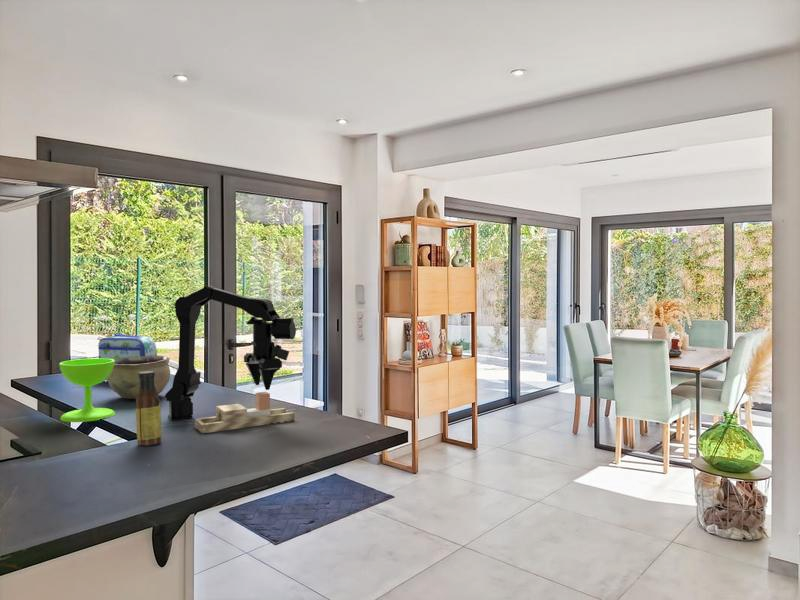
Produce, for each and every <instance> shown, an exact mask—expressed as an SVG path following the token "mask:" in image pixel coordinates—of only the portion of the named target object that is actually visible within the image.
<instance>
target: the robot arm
mask: <svg viewBox="0 0 800 600" xmlns="http://www.w3.org/2000/svg"><path fill="white" fill-rule="evenodd" d="M211 300H212V301H216V302H219V303H222V304H224V305H228V306H232V307H235V308H238V309H241V310H242V311H244V312H245V313H247V314H249V315H250V316H251V317H250V318H249V320H248V321H246V323H245V324H246V325H252V331H253V332H252V341H251V342H250V345H251V346H253V347H252V352H247V353H245V355H244V356H243V362H244V363H245V365H246V368H247V369H248V372H249V373H250V377H251V378H252V380H253V383H254V385H255V386H259V385H260V382H261V380H262V383H263V386H264V389H265V391H269V390H270V388H271V385H272V382H273V378H274V376H275V374H276V373H277V372H278V371H280V369H282V367H283V361H282V360H284V361H287V360H288V358H289V354H290V351H289V350H286V349H284V348H282V346H281V345H279V344H275V342H274V341H273V339H272V337H273V338H274V339H275V340H294V339H295V337H296V334H297V333H296V332H297V327H296V324H295V321H294V318H293V317H287V318H286V317H285V318H284V317H280V315H279V314H278V313H277V311H276V310H275V307H274V306H275V305H274V303H273V301H272V300H271V299H268V298H260V297H249V296H244V295H241V294H237V293H235V292H231V291H228V290H224V289H221V288H218V287H216V286H214V285H206V286H204V287H202V288H200V289H199V290H197V291H195V292H191V293H189V294H188V295H186V296H185V295H184V296H181V297H178V298H177V299H176V300H175V302H174V312H175V316H176V318H177V320H178V323H179V336H178V337H179V340H178V342H179V343H178V344H179V345H178V367H177V370H176V372H175V374H174V376H173V379H172V380H173V381H172V385H171V386H172V387H171V388H170V389H169V390H168V391H167V392H166V393H165V394H164V397H165V400H166V401H167V402H168V403H169V404H168V405H169V407H168V409H169V410H168V411H169V413H168V414H167V417H168V418H169V419H170V420H171V421H176V420H178V419H179V420H185V419H186V418H187V419H193V418H194V417H193V415H194V403H193V402H192V397H194V395H195V392H196V391H197V390H198V389H199V388H200V387H199V386H200V385H201V384H202V382H201V375H202V374H201V371H197V370H196V368H195V353H196V352H195V350H196V347H195V345H196V323H197V321H198V320H199V317H200V316H201V315H200V314H201V311H202V307H204V306H205V305H207V304H208V303H209V302H210V301H211Z"/></svg>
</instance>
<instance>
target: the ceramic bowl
mask: <svg viewBox="0 0 800 600" xmlns="http://www.w3.org/2000/svg"><path fill="white" fill-rule="evenodd" d="M170 359H171V357H170V356H167V357H166V358H165V356H164V355H159V354H157V355H150V356H139V357H123V358H117V359H114V360H115V363H114V367H113V370H112V372H111V374H110V375H109V376H108V382H107V383H108V386H109V387H110V388H111V389H112V391H113V392H114V393H116V395H117V394H118V395H119V397H121V398H124V399H126V400H127V399H128V400H136V396H137V394H138V392H139V390H140V387H139V386H140V379H139V372H144V371H154V372H155V377H154V385H155V388H156V391H157V394H158V395H160V394H161V393H162V392H163V391H164V389H165V388H166V387H167V385H168V384H169V382H170V379H171V369H170V365H169V363H170Z"/></svg>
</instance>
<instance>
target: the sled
mask: <svg viewBox="0 0 800 600" xmlns="http://www.w3.org/2000/svg"><path fill="white" fill-rule="evenodd" d="M254 394H255V398H254V399H255V402H254V403H255V407H253V408H247V418H252V417H259V416H267V415H270V410H271V394H270V393H269V392H267V391H260V392H255V393H254ZM221 421H223V414H221Z"/></svg>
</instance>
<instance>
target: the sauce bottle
mask: <svg viewBox="0 0 800 600" xmlns="http://www.w3.org/2000/svg"><path fill="white" fill-rule="evenodd" d="M154 377H155V372H154V371H144V372H139V379H140V386H139V387H140V390H139V392H138V394H137V396H136V399H135V419H136V440H137V445H139V446H142V447H148V446H149V447H150V446H155V445H158V444H160V443H161V442H162V434H163V432H162V416H161V415H162V413H161V412H162V411H161V399H160V396H159V394H157V391H156V388H155V385H154Z"/></svg>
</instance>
